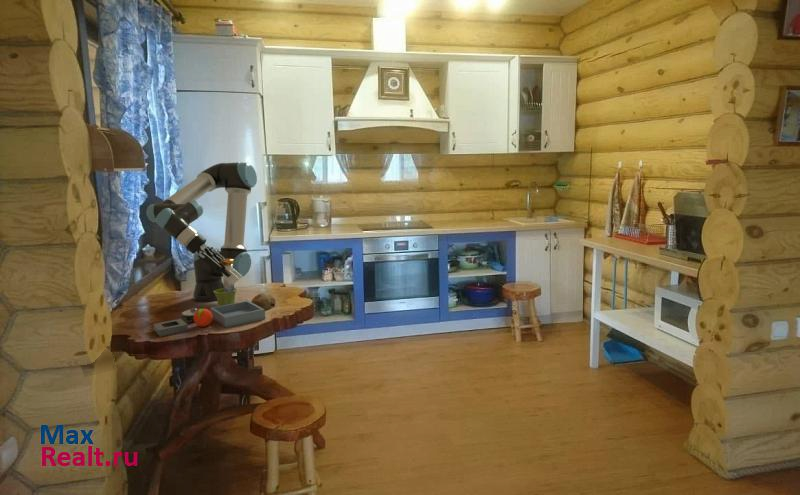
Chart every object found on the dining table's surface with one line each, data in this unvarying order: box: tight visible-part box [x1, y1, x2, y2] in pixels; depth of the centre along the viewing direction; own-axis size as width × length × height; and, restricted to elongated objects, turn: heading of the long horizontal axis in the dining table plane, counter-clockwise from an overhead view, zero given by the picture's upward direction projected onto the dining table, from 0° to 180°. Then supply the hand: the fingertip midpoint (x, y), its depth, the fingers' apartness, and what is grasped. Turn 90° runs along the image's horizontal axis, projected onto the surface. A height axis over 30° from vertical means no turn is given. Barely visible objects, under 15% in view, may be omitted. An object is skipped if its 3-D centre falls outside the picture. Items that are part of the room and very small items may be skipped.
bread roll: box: [250, 292, 276, 310], centre depth 213 cm, size 10×10×8 cm
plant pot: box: [214, 287, 238, 306], centre depth 211 cm, size 9×9×9 cm
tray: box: [209, 300, 266, 328], centre depth 198 cm, size 18×16×4 cm
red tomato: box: [193, 307, 214, 327], centre depth 188 cm, size 8×7×7 cm
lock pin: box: [220, 259, 236, 293], centre depth 194 cm, size 5×5×13 cm
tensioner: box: [153, 307, 201, 338], centre depth 191 cm, size 18×20×4 cm
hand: (238, 279), depth 194 cm, fingers closed on lock pin, 4 cm apart
